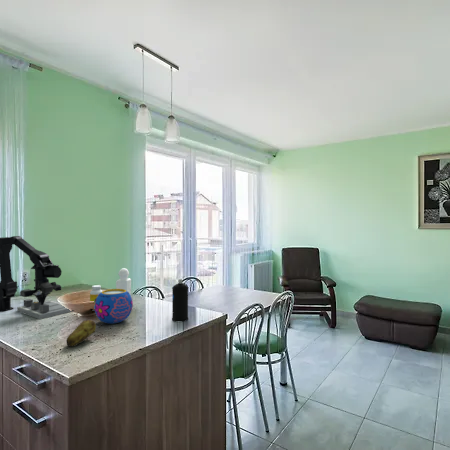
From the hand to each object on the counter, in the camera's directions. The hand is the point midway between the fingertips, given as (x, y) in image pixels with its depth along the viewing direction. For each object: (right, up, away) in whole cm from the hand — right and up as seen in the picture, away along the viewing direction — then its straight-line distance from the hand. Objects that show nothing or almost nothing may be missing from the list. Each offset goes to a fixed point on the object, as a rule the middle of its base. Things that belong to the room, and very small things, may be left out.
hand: (41, 306), depth 167 cm
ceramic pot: (+45, -4, -17) cm, 48 cm away
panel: (+1, -3, +2) cm, 4 cm away
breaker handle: (-2, -1, -2) cm, 3 cm away
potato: (+40, -4, -42) cm, 58 cm away
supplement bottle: (+27, -3, +5) cm, 28 cm away
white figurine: (+41, -3, +11) cm, 42 cm away
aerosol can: (+76, -4, -12) cm, 77 cm away
